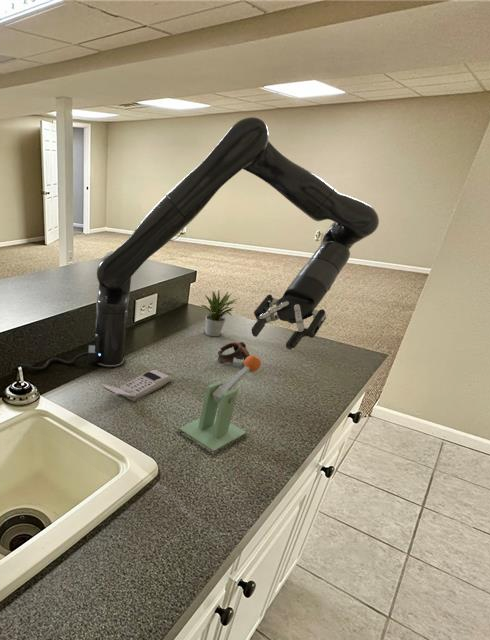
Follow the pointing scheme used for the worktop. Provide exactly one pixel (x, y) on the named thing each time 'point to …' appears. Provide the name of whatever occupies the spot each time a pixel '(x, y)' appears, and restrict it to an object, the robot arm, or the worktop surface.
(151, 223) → the robot arm
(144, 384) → the mobile phone
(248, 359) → the switch lever
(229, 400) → the power switch
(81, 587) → the worktop surface
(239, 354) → the brown curved piece
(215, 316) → the house plant
